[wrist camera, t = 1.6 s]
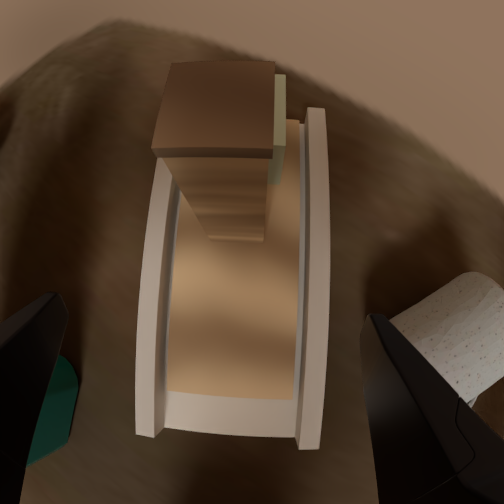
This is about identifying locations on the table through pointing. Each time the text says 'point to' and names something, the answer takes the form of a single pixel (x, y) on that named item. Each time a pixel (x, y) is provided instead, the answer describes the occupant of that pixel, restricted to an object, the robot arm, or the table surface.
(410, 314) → the ceramic mug
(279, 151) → the block
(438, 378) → the robot arm
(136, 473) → the table surface
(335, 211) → the table surface
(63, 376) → the green bottle
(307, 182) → the lane board
